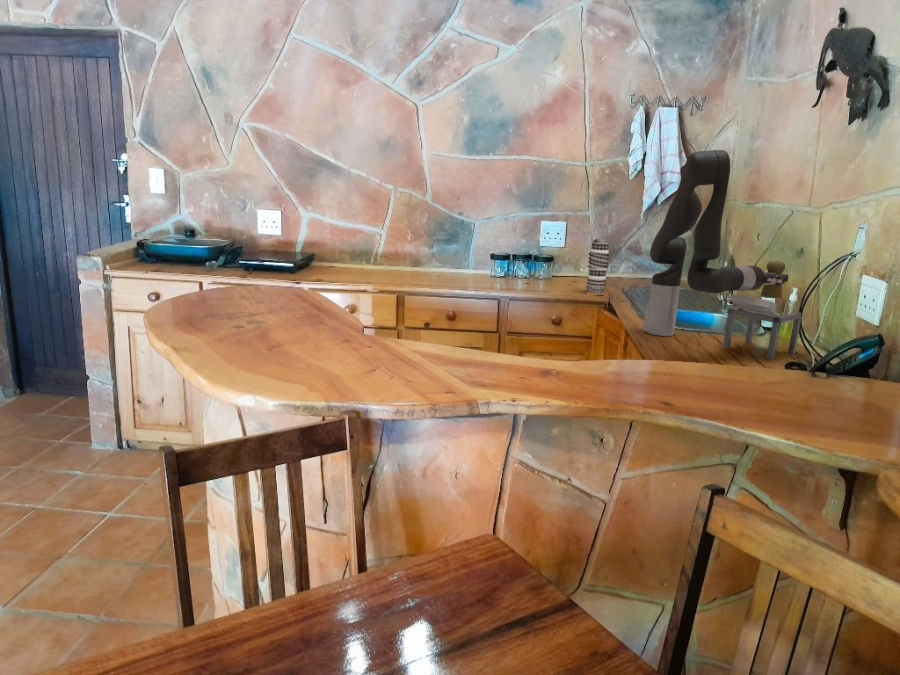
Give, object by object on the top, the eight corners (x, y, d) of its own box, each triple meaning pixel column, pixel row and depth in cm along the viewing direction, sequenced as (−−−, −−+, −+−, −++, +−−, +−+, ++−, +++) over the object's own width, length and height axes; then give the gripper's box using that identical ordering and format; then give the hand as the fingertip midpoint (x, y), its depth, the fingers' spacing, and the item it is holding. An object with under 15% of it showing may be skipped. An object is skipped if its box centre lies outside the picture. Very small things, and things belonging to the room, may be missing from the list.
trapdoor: (728, 303, 199) (731, 294, 199) (753, 316, 211) (756, 306, 211) (767, 310, 190) (770, 300, 190) (790, 323, 202) (793, 313, 202)
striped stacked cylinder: (584, 295, 292) (589, 239, 286) (586, 292, 300) (591, 237, 294) (604, 297, 289) (610, 240, 283) (606, 293, 298) (611, 239, 292)
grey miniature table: (722, 348, 207) (728, 308, 204) (747, 342, 217) (753, 304, 213) (771, 360, 195) (778, 318, 192) (795, 353, 205) (802, 313, 202)
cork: (764, 293, 207) (770, 259, 205) (784, 296, 203) (790, 261, 201) (757, 295, 203) (763, 260, 201) (777, 298, 199) (783, 262, 196)
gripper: (767, 269, 188) (803, 268, 196) (726, 262, 200) (762, 262, 208) (762, 294, 190) (799, 292, 198) (722, 286, 202) (758, 285, 210)
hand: (780, 277), depth 203 cm, fingers closed on cork, 3 cm apart
